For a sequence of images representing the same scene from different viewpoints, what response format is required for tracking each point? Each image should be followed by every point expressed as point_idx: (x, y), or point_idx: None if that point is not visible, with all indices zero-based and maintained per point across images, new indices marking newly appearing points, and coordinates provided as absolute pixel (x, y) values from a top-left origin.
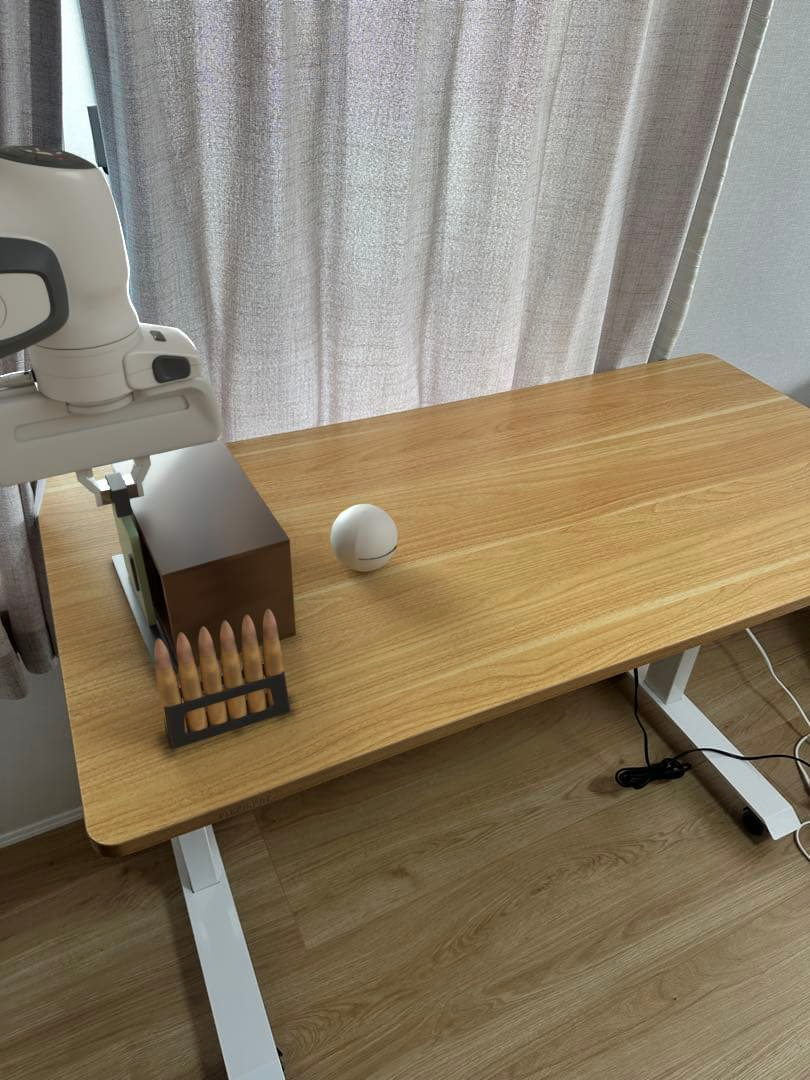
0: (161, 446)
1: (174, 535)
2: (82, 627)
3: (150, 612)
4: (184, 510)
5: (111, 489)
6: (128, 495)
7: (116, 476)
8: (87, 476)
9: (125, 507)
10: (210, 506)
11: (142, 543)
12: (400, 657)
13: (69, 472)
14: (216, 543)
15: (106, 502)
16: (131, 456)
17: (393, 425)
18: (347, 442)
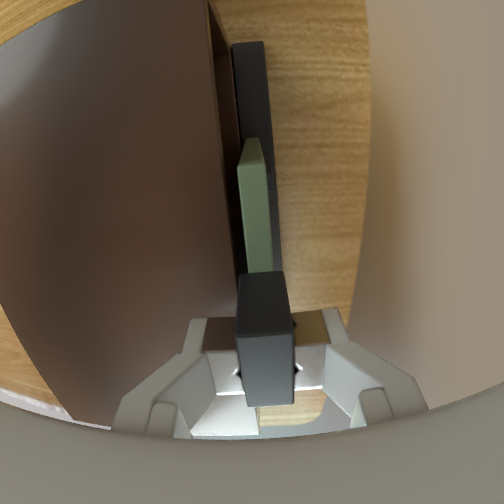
0: (36, 441)
1: (131, 131)
2: (345, 186)
3: (251, 139)
4: (101, 246)
5: (291, 343)
6: (237, 314)
7: (261, 394)
8: (381, 393)
9: (255, 288)
10: (46, 241)
11: (235, 233)
12: (4, 42)
13: (468, 399)
14: (43, 76)
15: (309, 314)
16: (169, 453)
17: (8, 380)
18: (35, 380)
